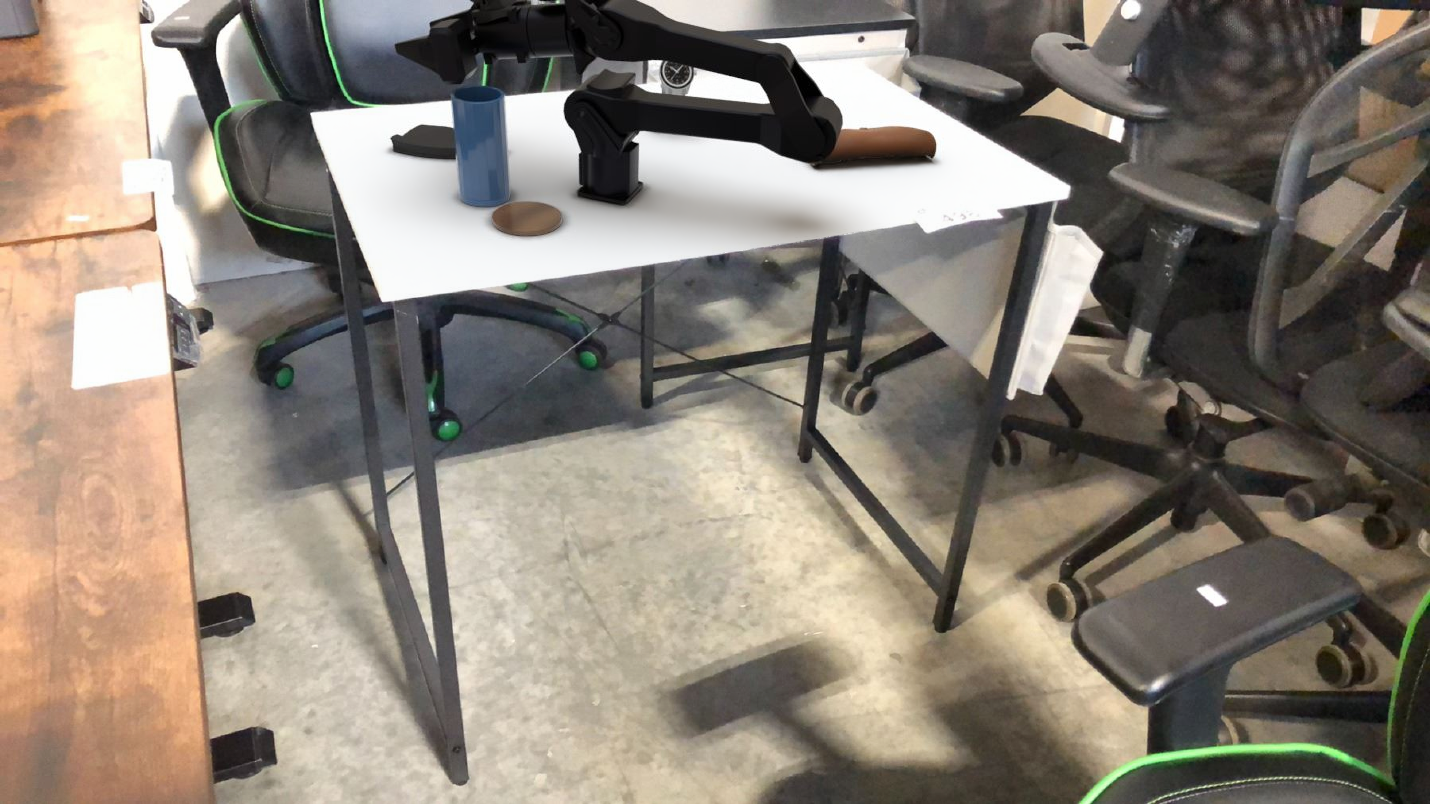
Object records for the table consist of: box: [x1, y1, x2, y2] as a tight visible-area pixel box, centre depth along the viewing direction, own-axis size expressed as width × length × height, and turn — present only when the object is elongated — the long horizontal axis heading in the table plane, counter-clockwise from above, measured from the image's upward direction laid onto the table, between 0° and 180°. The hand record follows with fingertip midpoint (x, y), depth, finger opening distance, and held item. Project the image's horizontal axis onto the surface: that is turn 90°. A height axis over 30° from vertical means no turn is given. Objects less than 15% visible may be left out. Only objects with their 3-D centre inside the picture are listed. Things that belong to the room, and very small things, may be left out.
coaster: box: [491, 200, 563, 237], centre depth 115 cm, size 8×8×1 cm
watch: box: [658, 61, 698, 96], centre depth 140 cm, size 6×8×11 cm
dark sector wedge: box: [389, 123, 456, 159], centre depth 131 cm, size 8×14×2 cm, turn 73°
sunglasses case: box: [809, 125, 937, 167], centre depth 138 cm, size 18×7×7 cm
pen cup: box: [449, 85, 511, 208], centre depth 116 cm, size 6×6×12 cm
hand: (413, 37), depth 118 cm, fingers open, 9 cm apart
